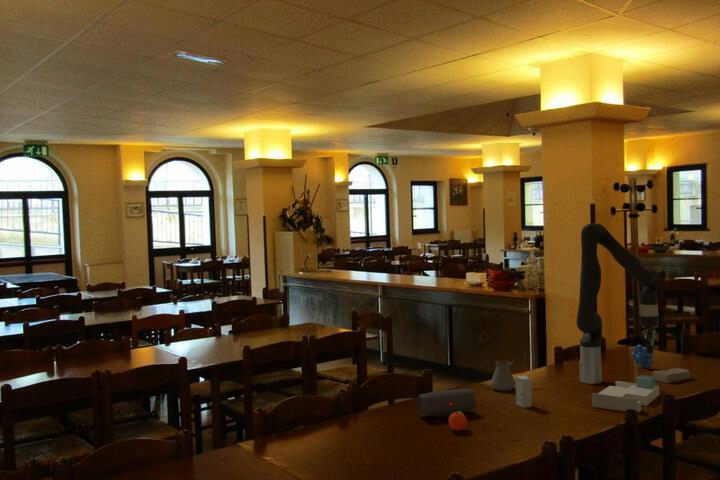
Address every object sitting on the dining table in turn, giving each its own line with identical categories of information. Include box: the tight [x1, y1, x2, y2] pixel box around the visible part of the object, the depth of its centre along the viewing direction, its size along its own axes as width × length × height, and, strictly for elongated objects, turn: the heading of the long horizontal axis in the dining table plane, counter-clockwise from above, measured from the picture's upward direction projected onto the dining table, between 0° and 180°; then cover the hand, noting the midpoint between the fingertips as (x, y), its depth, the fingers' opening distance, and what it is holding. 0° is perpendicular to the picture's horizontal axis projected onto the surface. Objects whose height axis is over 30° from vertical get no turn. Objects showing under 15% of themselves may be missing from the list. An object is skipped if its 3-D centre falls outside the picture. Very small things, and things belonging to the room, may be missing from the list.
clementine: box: [448, 411, 468, 432], centre depth 249 cm, size 8×7×7 cm
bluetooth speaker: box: [416, 388, 477, 418], centre depth 268 cm, size 23×9×10 cm, turn 105°
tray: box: [591, 380, 660, 414], centre depth 277 cm, size 18×31×6 cm, turn 141°
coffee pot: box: [490, 351, 527, 392], centre depth 307 cm, size 21×12×15 cm, turn 125°
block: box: [635, 374, 656, 389], centre depth 284 cm, size 6×6×4 cm
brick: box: [652, 367, 692, 384], centre depth 309 cm, size 17×8×5 cm, turn 116°
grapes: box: [631, 344, 655, 369], centre depth 333 cm, size 12×7×12 cm, turn 36°
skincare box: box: [515, 375, 532, 409], centre depth 277 cm, size 6×4×12 cm
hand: (650, 353), depth 290 cm, fingers closed
